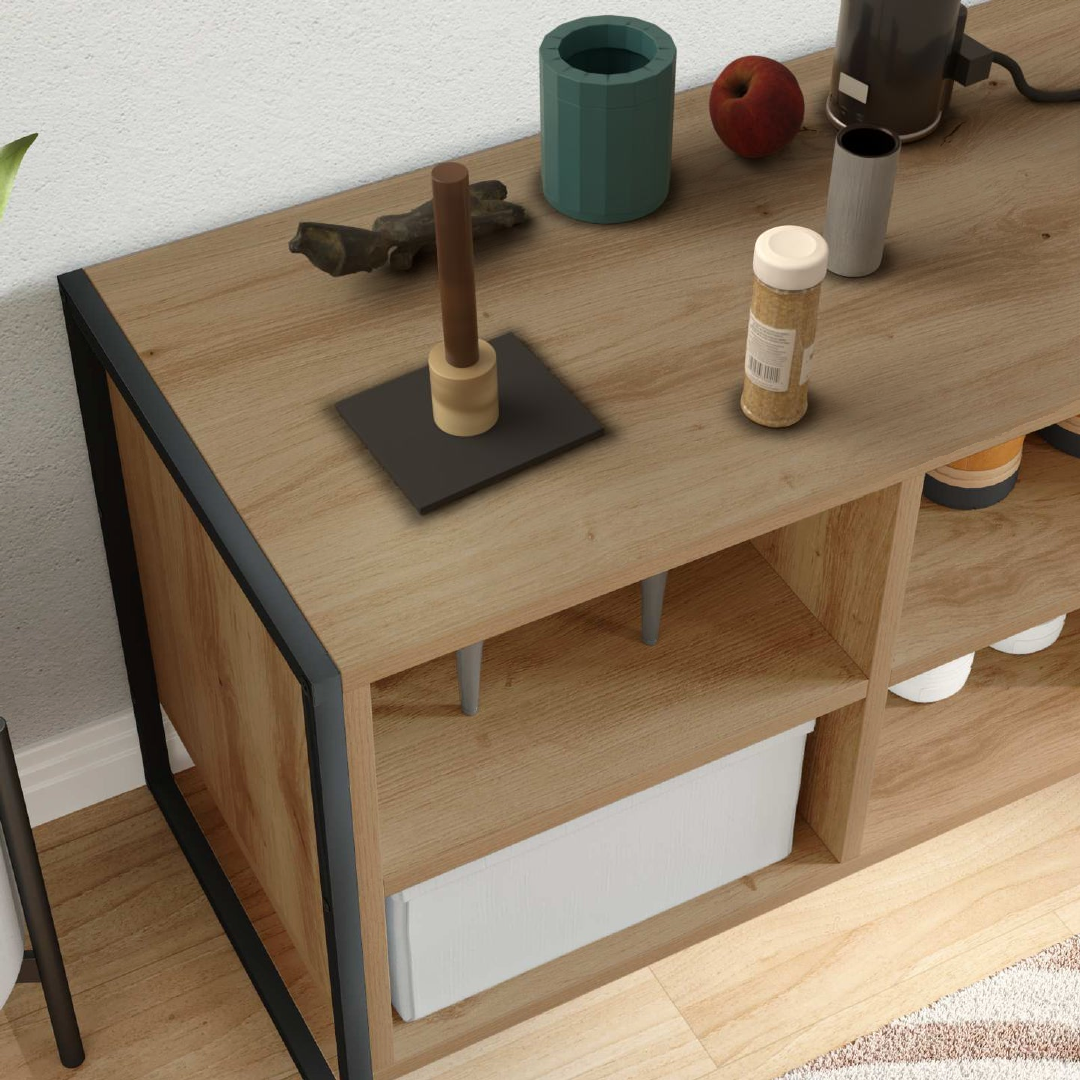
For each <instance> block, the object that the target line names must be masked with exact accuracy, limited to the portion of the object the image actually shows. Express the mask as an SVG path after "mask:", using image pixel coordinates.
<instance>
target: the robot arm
mask: <svg viewBox="0 0 1080 1080" xmlns="http://www.w3.org/2000/svg"><path fill="white" fill-rule="evenodd" d="M839 6H840V7H839V13H838V23H837V29H836V37H835V45H834V52H833V61H832V67H831V76H830V84H829V92H828V96H827V99H826V105H825V114H826V117H827V120H828V121H829V122H830V124H831V125H832V126H833V127H834V128H835V129H837V130H838V131H840V130H841V129H843V128H844V127H846V126H849V125H852V124H856V123H875V124H879V125H883V126H886V127H888V128H890V129H892V130H893V131H894V132H896V133H897V134H898V136H899V137H900V140H901V144H907V143H912V142H915V141H919V140H922V139H924V138H926V137H927V136H929V135H931V134H932V133H933V132H934V131H935V130H936V129H937V128H938V126H939V124H940V121H941V118H943V117H946V116H948V115H949V112H950V108H951V107H950V106H951V101H952V96H953V91H954V86H955V83H957V84H959V85H961V86H962V87H964V88H967V87H970V86H972V85H975V84H977V83H980V82H982V81H985V80H988V79H989V77H990V75H991V74H990V73H991V68H992V63H994V64H996V65H998V66H1001V67H1002V68H1004V69H1005V70H1006V71H1008V72H1009V74H1010V76H1011V78H1012V81H1013V84H1014V86H1015V88H1016V89H1017V91H1018V92H1019V93H1020V95H1022V96H1023V97H1025V98H1028V99H1030V100H1032V101H1036V102H1042V103H1062V102H1063V103H1064V102H1065V103H1066V102H1074V101H1079V100H1080V88H1076V89H1071V90H1065V91H1064V90H1063V91H1048V90H1047V91H1046V90H1041V89H1038V88H1035V87H1033V86H1031V85H1030V84H1029V83H1028V81H1027V80H1026V77H1025V75H1024V72H1023V70H1022V67H1021V66H1020V64H1019V63H1018V62H1017V61H1016V60H1015V59H1014V58H1012V57H1011V56H1008V55H1007V54H1005V53H1002V52H999V51H996V50H992V49H991V48H989V47H988V46H986V45H984V44H983V43H982V42H980V41H978V40H976V39H975V38H973V37H972V36H969V35H968V34H966V33H965V29H966V25H967V18H968V13H969V12H968V8H967V6H966V5H965V4H964V3H962V0H840V5H839Z"/></svg>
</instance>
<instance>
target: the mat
mask: <svg viewBox="0 0 1080 1080" xmlns="http://www.w3.org/2000/svg"><path fill="white" fill-rule="evenodd" d="M486 342H487V343H489V344H490V345H491V346H492V347H493V349H494V350H495V353H496V360H497V381H498V402H499V417H498V420H497V422H496V423H495V425H494V426H493V427H492V428H490V429H489V430H487V431H486V432H484V433H481V434H479V435H475V436H467V437H462V436H455V435H451V434H448V433H446V432H444V431H443V430H441V429H440V428H439V427H438V426H437V424H436V423H435V421H434V416H433V404H432V393H431V382H430V371H429V364H428V365H426V366H423V367H420V368H418V369H416V370H413V371H411V372H410V371H409V372H408V373H406V374H403V375H401V376H398V377H396V378H393V379H391V380H388V381H386V382H383V383H381V384H379V385H376V386H374V387H371V388H368V389H366V390H364V391H361V392H358V393H356V394H354V395H351V396H349V397H346V398H344V399H342V400H339V401H336V402H334V408H335V411H336V412H337V413H338V414H339V415H340V416H341V418H342V419H343V421H344V422H345V423H346V424H347V425H348V426H349V428H350V429H351V430H352V432H353V433H354V434H355V435H356V436H357V438H358V439H359V440H360V441H361V442H362V444H363V445H364V447H366V449H367V450H368V451H369V452H370V454H371V455H372V456H373V458H374V459H375V460H376V461H377V463H378V464H379V465H380V467H381V468H382V469H383V470H384V471H385V473H386V474H387V475H388V476H389V478H390V479H391V481H393V482H394V484H395V485H396V487H398V489H399V490H400V491H401V493H402V494H403V495H404V496H405V497H406V499H407V500H408V501H409V502H410V504H411V505H412V506H413V507H414V509H415V510H416V511H417V512H418V514H419V515H420V516H421V515H423V514H426V513H429V512H431V511H433V510H436V509H437V508H439V507H442V506H445V505H447V504H449V503H451V502H454V501H456V500H457V499H460V498H462V497H464V496H466V495H469V494H471V493H474V492H475V491H478V490H481V489H483V488H484V487H487V486H489V485H492V484H494V483H497V482H498V481H501V480H504V479H505V478H507V477H510V476H512V475H514V474H517V473H519V472H521V471H524V470H525V469H527V468H530V467H532V466H534V465H537V464H539V463H541V462H543V461H545V460H548V459H550V458H552V457H554V456H557V455H560V454H562V453H564V452H566V451H568V450H570V449H574V448H575V447H577V446H580V445H581V444H582V445H583V444H584V443H586V442H589V441H591V440H593V439H596V438H598V437H600V436H603V435H605V427H604V426H603V425H602V424H601V423H600V421H599V420H598V419H597V418H596V417H595V416H593V414H592V413H591V412H590V411H589V410H588V409H587V408H586V407H585V406H584V405H583V404H582V403H581V402H580V401H579V400H578V399H577V398H576V397H575V396H574V395H573V394H572V393H571V392H570V391H569V390H568V389H567V387H566V386H565V385H563V383H562V382H561V381H559V379H558V378H557V377H556V376H555V375H554V373H552V372H551V371H550V370H549V369H548V368H547V367H546V366H545V364H543V363H542V362H541V361H540V360H539V358H537V357H536V356H535V355H534V354H533V352H532V351H531V350H529V348H528V347H527V346H526V345H525V344H524V343H523V342H522V341H521V340H520V339H519V338H518V337H517V336H516V335H515V334H514V333H513V332H512V331H508V332H507V333H505V334H502V335H500V336H497V337H494V338H492V339H489V340H487V341H486Z"/></svg>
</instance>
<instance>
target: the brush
mask: <svg viewBox="0 0 1080 1080" xmlns="http://www.w3.org/2000/svg"><path fill="white" fill-rule="evenodd" d="M430 179H431V180H430V182H431V193H432V198H433V207H434V220H435V232H436V241H435V243H436V255H437V256H436V257H437V270H438V283H439V293H440V308H441V319H442V333H443V334H442V335H443V340H441V341H440V342H439V343H437V344H436V345H434V346H433V348H431V350H430V352H429V354H428V365H429V371H430V382H431V393H432V404H433V416H434V421H435V423H436V424H437V426H438V427H439V428H440V429H441V430H443V431H444V432H446V433H448V434H451V435H455V436H462V437H467V436H475V435H479V434H481V433H484V432H486V431H487V430H489V429H490V428H492V427H493V426H494V425H495V423H496V422H497V420H498V417H499V402H498V381H497V360H496V353H495V350H494V349H493V347H492V346H491V345H490V344H489V343H487V341H486V340H485V339H482V338H479V328H478V326H479V325H478V312H477V293H476V277H475V261H474V243H473V230H472V223H471V206H470V189H469V185H470V175H469V169H468V167H467V166H466V165H464V164H463V163H460V162H455V161H447V162H446V161H445V162H441V163H438V164H437V165H435V166H434V167H433V168H432V169H431V171H430Z"/></svg>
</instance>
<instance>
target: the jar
mask: <svg viewBox="0 0 1080 1080" xmlns="http://www.w3.org/2000/svg"><path fill="white" fill-rule="evenodd" d="M677 53H678V48H677V46H676V43H675V42H674V39H673V37H672V35H671V34H670V33H668V32H667V31H665V30H664V29H663V28H661V27H660V26H659V25H657V24H656V23H654V22H653V23H652V22H650V21H646V20H644V19H640V18H639V17H636V16H634V17H633V16H627V15H626V16H625V15H616V14H615V15H614V14H599V15H592V16H591V15H590V16H584V17H580V18H576V19H573V20H570V21H567V22H564V23H561V24H559V25H557V26H556V27H554V28H553V29H552V30H550V31H549V32H548V33H546V34H545V35H544V37H543V39H542V41H541V44H540V45H539V47H538V65H539V67H538V69H539V72H538V73H539V76H538V78H539V123H540V125H539V126H540V128H539V129H540V173H541V176H540V177H541V181H542V192H543V196H544V197H545V200H546V201H547V202H548V204H549V205H550V206H551V207H552V208H553V209H555V210H556V212H557V211H558V212H559V213H560V214H562V215H564V216H567V217H568V218H571V219H574V220H576V221H581V222H585V223H592V224H606V225H607V224H620V223H626V222H631V221H635V220H638V219H641V218H644V217H646V216H648V215H650V214H652V213H653V212H655V211H656V210H658V209H659V208H660V207H661V206H662V205H663V204H664V202H665V201H666V199H667V198H668V195H669V190H670V180H671V178H672V177H671V174H672V158H673V156H672V155H673V139H674V138H673V137H674V136H673V135H674V118H675V115H674V114H675V98H676V97H675V95H676V78H677V77H676V75H677V74H676V73H677V57H678V56H677V55H678V54H677Z"/></svg>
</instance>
